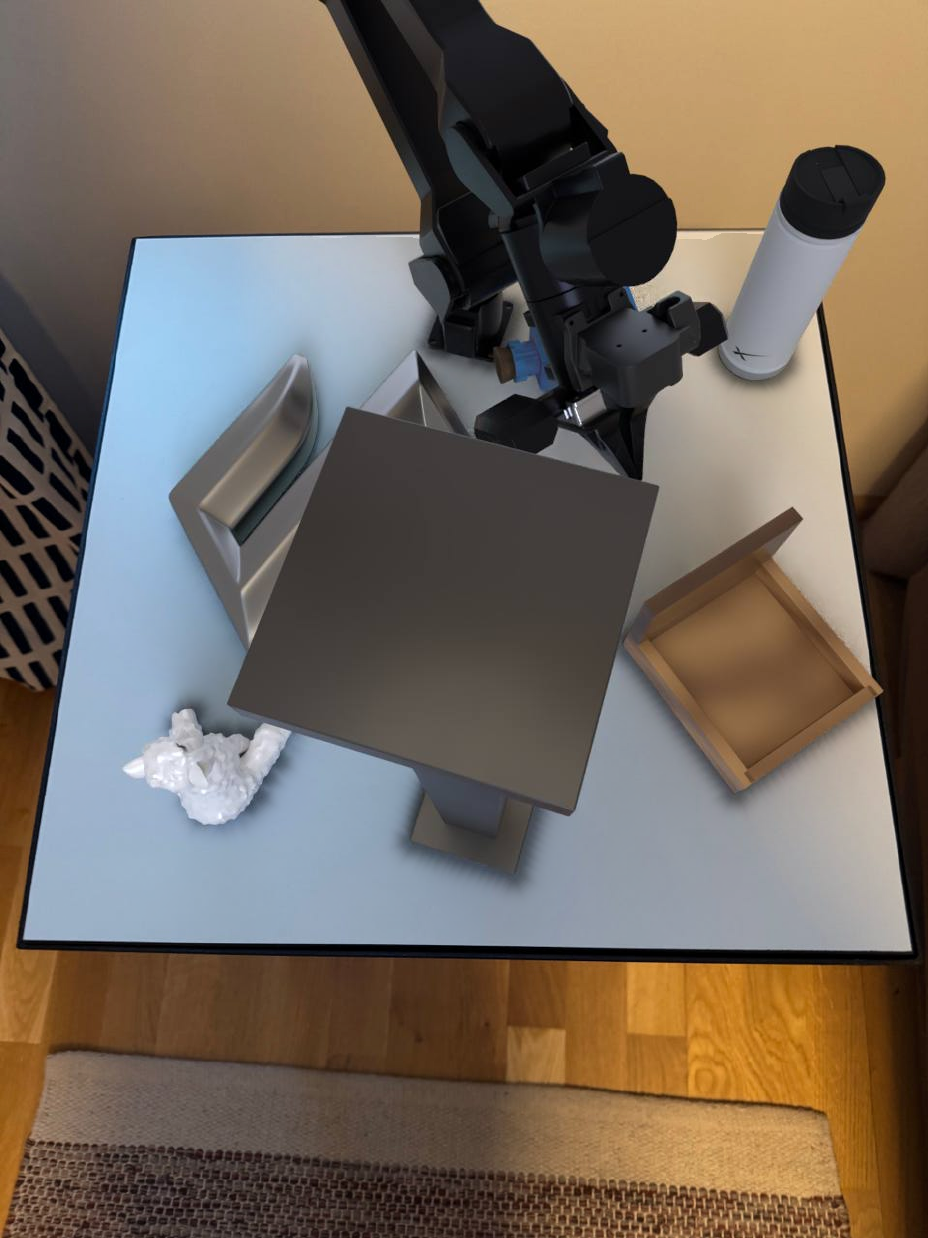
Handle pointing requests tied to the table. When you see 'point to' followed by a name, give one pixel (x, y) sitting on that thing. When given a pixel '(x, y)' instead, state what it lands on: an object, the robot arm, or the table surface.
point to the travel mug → (799, 256)
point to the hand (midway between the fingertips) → (635, 482)
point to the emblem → (278, 479)
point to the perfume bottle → (528, 359)
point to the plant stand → (452, 622)
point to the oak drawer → (747, 658)
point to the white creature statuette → (209, 766)
